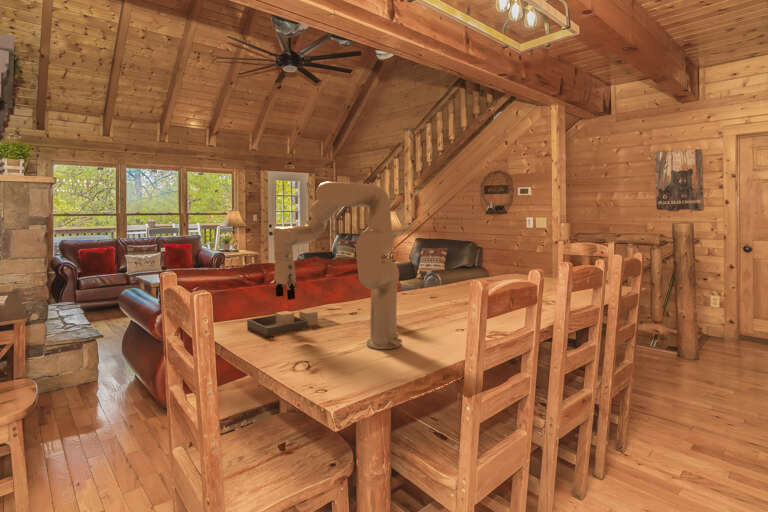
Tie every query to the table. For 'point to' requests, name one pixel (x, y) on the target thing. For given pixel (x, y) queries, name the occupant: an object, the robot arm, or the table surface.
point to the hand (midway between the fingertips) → (285, 297)
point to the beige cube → (309, 316)
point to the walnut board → (323, 324)
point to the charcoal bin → (274, 326)
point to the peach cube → (284, 318)
